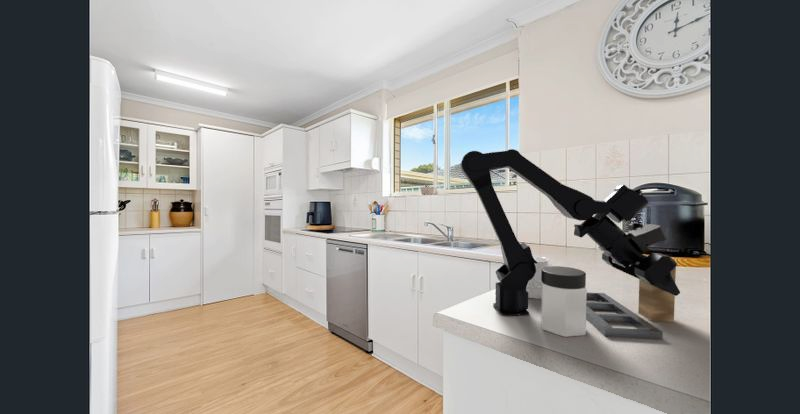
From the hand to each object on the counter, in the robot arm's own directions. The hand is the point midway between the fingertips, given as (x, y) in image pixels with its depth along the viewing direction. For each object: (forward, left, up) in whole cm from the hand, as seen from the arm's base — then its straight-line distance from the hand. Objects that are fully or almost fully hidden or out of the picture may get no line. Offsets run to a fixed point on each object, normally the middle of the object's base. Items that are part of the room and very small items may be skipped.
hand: (663, 287), depth 70 cm
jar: (-25, -4, -7) cm, 26 cm away
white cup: (-22, +17, -7) cm, 28 cm away
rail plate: (-12, +2, -7) cm, 14 cm away
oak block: (-1, 0, -7) cm, 7 cm away
